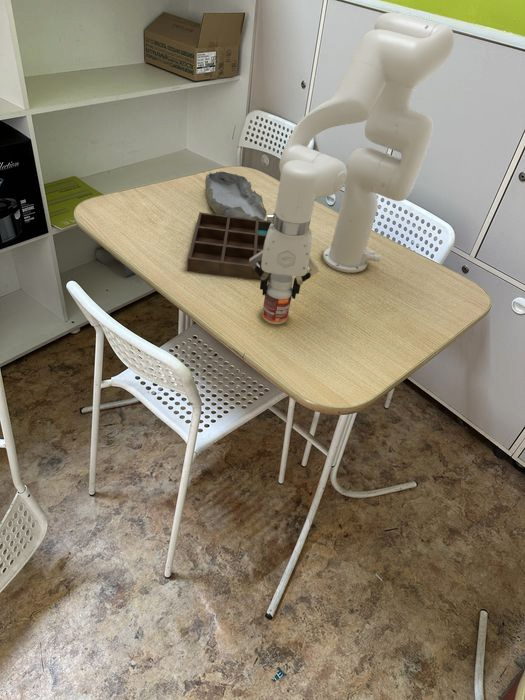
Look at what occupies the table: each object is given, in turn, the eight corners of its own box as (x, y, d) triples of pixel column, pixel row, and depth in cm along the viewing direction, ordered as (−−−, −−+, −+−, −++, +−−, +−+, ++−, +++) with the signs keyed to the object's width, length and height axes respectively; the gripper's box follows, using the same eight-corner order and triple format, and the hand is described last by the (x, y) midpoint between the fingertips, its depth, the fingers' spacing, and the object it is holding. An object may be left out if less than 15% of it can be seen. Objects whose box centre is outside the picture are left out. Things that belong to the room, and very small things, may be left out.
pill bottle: (276, 328, 121) (284, 288, 114) (256, 316, 124) (262, 276, 116) (292, 317, 125) (300, 278, 118) (272, 306, 127) (279, 266, 120)
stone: (267, 232, 159) (227, 184, 176) (274, 207, 153) (232, 160, 171) (226, 235, 152) (189, 185, 170) (232, 209, 147) (192, 160, 164)
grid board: (284, 234, 155) (286, 223, 153) (285, 283, 136) (287, 270, 133) (198, 223, 154) (199, 212, 151) (187, 271, 134) (187, 258, 132)
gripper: (249, 226, 105) (240, 298, 116) (333, 237, 106) (316, 307, 118) (250, 209, 110) (242, 280, 122) (331, 219, 111) (314, 288, 123)
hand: (278, 293), depth 120 cm, fingers closed on pill bottle, 6 cm apart
